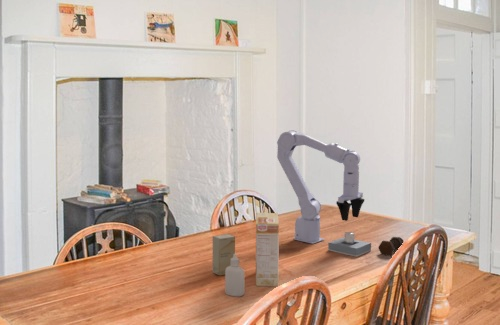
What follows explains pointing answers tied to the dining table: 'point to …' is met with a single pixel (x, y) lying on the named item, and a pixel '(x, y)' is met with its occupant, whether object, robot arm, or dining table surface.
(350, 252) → the hole block
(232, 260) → the eye dropper bottle
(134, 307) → the dining table surface
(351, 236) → the pin
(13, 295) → the dining table surface
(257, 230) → the coffeecake box
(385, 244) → the bolt
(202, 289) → the dining table surface
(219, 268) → the skincare box
